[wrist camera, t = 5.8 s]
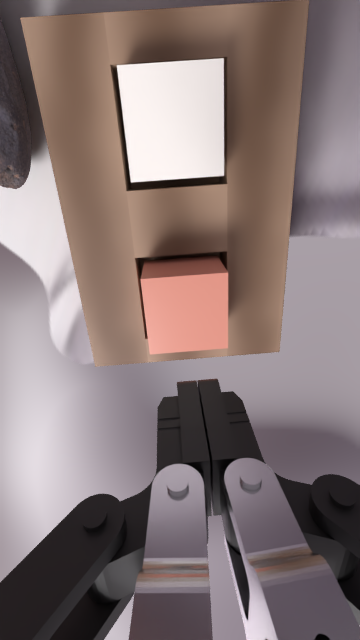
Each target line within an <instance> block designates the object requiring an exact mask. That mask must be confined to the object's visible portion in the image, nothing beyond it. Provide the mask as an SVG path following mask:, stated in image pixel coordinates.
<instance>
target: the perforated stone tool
mask: <svg viewBox="0 0 360 640" xmlns="http://www.w3.org/2000/svg"><path fill="white" fill-rule="evenodd" d="M30 165H31V134H30V123H29V117H28V112H27V107H26V102H25V98H24V94H23V90H22V86H21V83H20V79H19V75H18V72H17V69H16V65H15V62H14V59H13V55H12V52H11V49H10V45H9V42H8V39H7V36H6V33H5V30H4V27H3V24H2V21H1V18H0V185H1V186H2V187H6V188H13V189H17V188H20V187H21V186H22V185H24V183H25V182H26V180H27V178H28V175H29V171H30Z"/></svg>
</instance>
